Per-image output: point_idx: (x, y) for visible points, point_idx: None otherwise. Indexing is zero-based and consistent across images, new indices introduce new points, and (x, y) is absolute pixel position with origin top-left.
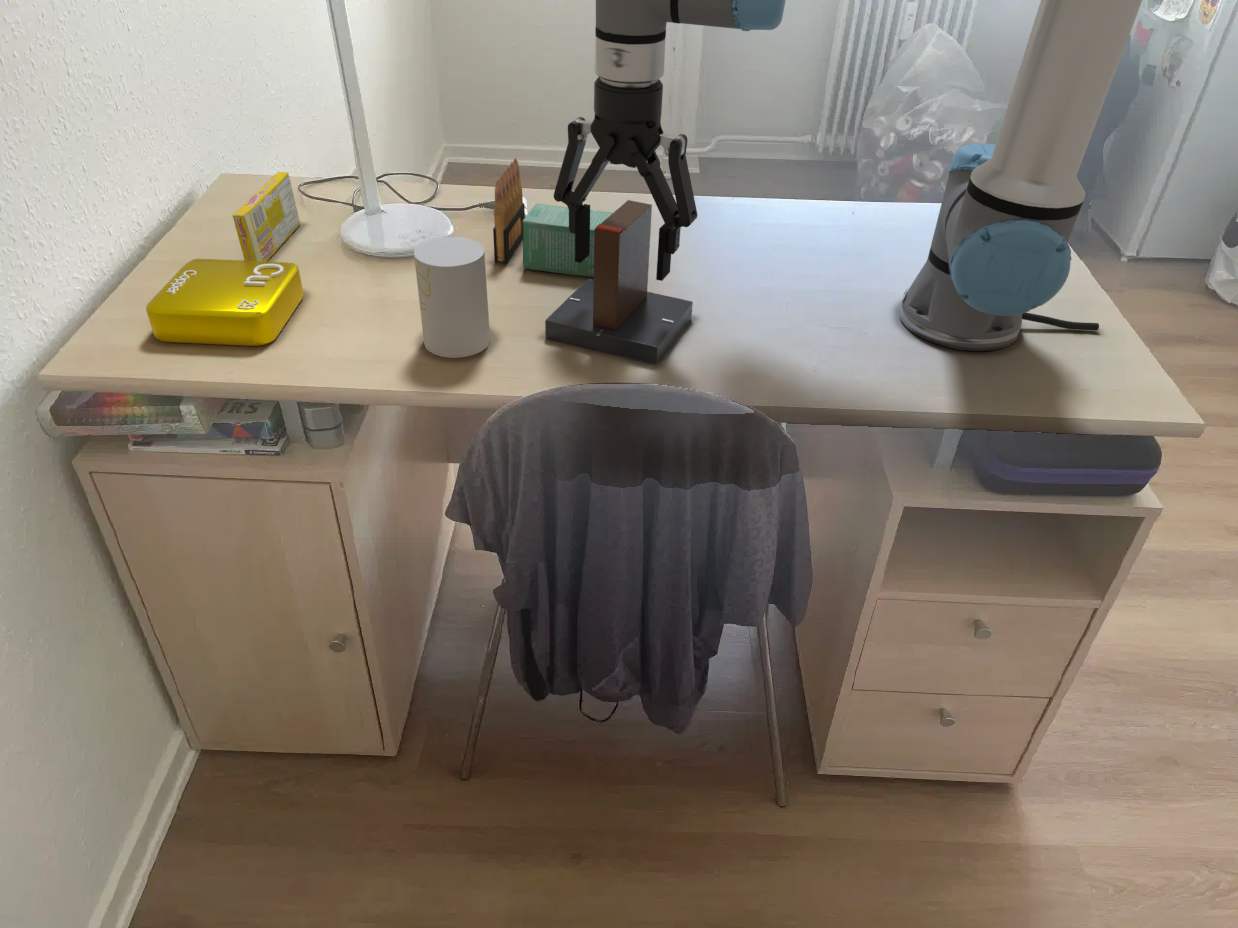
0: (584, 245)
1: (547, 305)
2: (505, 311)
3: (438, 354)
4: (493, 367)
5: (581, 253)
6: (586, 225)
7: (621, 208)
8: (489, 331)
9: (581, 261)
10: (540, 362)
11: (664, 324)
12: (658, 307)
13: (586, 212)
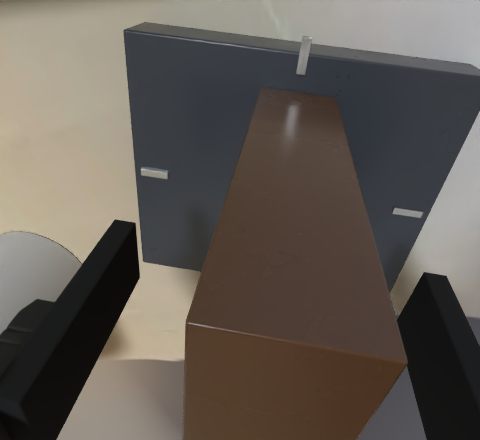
0: (117, 291)
1: (85, 115)
2: (31, 167)
3: None
4: (131, 316)
5: (127, 293)
6: (79, 342)
7: (200, 422)
8: (71, 275)
9: (138, 274)
10: (185, 297)
11: (398, 225)
12: (377, 149)
13: (46, 405)
